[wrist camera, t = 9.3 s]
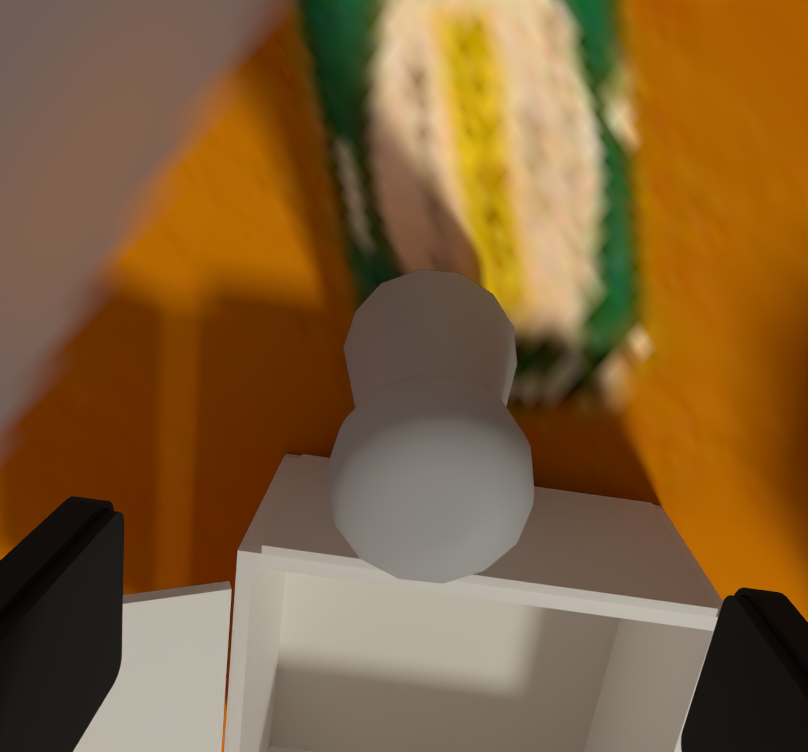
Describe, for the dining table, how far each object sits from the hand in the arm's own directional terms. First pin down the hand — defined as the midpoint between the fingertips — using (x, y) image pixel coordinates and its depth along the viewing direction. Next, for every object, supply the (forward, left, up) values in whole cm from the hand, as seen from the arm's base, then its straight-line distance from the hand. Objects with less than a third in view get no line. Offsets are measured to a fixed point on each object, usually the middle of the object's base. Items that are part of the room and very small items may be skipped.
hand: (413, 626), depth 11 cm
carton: (+13, +3, -16) cm, 20 cm away
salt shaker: (0, 0, -16) cm, 16 cm away
